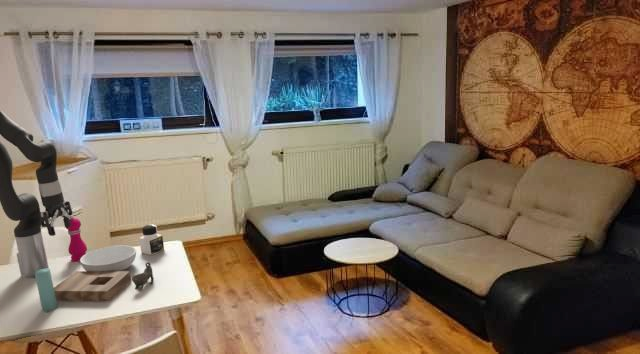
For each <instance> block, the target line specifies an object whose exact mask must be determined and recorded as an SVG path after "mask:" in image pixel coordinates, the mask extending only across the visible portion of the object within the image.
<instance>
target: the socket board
mask: <svg viewBox="0 0 640 354" xmlns="http://www.w3.org/2000/svg"><path fill="white" fill-rule="evenodd" d="M131 275H132V274H131V271H127V270H125V271H124V270H122V271H86V270H84V271H80V270H79V271H75V272H73V273H72V274H71V275H69V276H68V277H66V279H64V280H62V281H61V282H60V283H58V284H57V285H55V286H53V287H54V292H55V296H56V301H57V302H101V303H102V302H111V300H112V299H114V297H116V296H117V295H118V294H119V293H120V292H121V291H122V290H124V289H125V287H127V286H128V285H129V284H130V283H131V282H132V276H131Z"/></svg>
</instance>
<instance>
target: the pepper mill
mask: <svg viewBox="0 0 640 354" xmlns="http://www.w3.org/2000/svg"><path fill="white" fill-rule="evenodd" d="M69 219H70V223H71V227H69V228H66V227H65V228H66V230H67V234H68V235H69V238H70V242H69V245H68V254H69V255H71V256H70V260H71V261H72V262H76V263H77V262H80V259H81V257H82V256H84V255H85V254H87V253H88V252H87V250H88V247H87V244H86V242H85V241H84V240H83V238H82V237H81V232H82V231H81V225H82V221H80V219H78V218H77V217H74V215H73V214H72V215H71V216H70V218H69Z"/></svg>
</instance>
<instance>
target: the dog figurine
mask: <svg viewBox="0 0 640 354" xmlns="http://www.w3.org/2000/svg"><path fill="white" fill-rule="evenodd" d="M149 279H150V282H149V283H150V285H153V284H154V279H155V278H154V273H153V268H152V266H151V263H150V262H149V261H148V262H147V261H146V263H145V268H144V271H142V272H141V273H138V274H137V273H136V274H134V275H132V276H131V282H132V283H133V284H134V285H135V288H134V289H135V290H138V289H139V291H143V289H144V286H145V285H146V284H147V283H148V281H149Z"/></svg>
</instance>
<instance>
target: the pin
mask: <svg viewBox="0 0 640 354" xmlns="http://www.w3.org/2000/svg"><path fill="white" fill-rule="evenodd" d="M52 277H53V276H52V274H51V268H49V269H48V268H45V269H40V270H38V271H36V272H35V277H34V278H35V281H36V285H37V291H38V296H39V301H40V306H41V310H42V312H45V313H46V312H51V311H54V310H56V309H57V308H58V307H59V306H58V301H56V296H55V292H54V287H55V286H54V282H53V278H52Z"/></svg>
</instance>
